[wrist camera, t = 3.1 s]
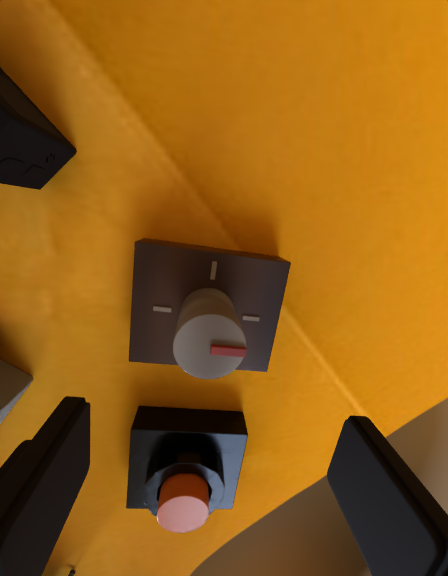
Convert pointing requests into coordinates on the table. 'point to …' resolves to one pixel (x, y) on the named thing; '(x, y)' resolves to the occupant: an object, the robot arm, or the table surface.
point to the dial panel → (196, 275)
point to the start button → (183, 503)
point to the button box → (185, 453)
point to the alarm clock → (72, 573)
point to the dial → (208, 335)
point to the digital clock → (11, 387)
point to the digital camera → (28, 140)
